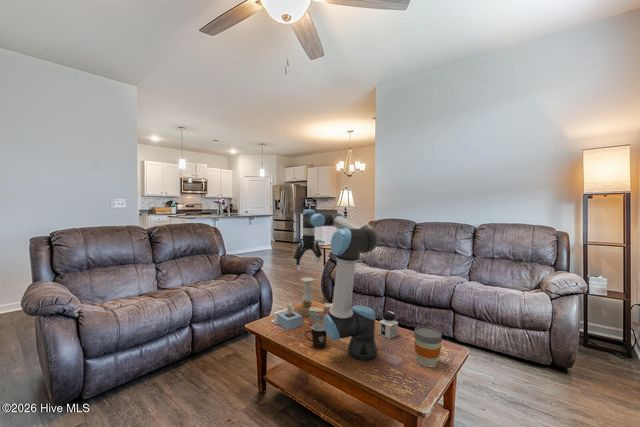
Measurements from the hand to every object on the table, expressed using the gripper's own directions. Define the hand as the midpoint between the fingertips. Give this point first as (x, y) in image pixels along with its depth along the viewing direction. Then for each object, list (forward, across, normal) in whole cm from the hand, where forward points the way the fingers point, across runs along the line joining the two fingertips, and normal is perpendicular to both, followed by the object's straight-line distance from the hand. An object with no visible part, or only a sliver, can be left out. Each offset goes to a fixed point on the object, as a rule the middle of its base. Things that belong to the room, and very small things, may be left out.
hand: (307, 268), depth 174 cm
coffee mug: (+35, +12, +24) cm, 44 cm away
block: (+35, +9, -6) cm, 36 cm away
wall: (+35, +9, -14) cm, 38 cm away
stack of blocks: (+35, -10, +7) cm, 37 cm away
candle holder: (+35, -10, -13) cm, 39 cm away
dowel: (+34, +9, -6) cm, 35 cm away
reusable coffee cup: (+35, -20, +69) cm, 80 cm away
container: (+35, -29, +40) cm, 60 cm away
